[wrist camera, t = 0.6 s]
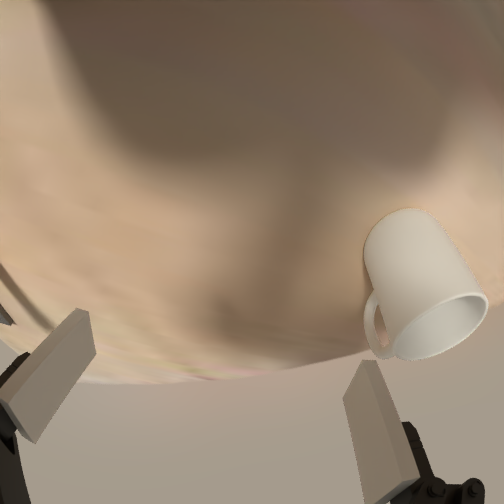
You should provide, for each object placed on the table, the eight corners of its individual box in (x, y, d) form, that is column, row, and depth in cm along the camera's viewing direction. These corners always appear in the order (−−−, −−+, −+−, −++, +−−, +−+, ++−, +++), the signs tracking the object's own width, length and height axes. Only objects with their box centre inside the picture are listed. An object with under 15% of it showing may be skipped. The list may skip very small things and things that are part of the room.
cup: (452, 224, 23) (503, 304, 15) (384, 302, 30) (406, 381, 22) (395, 190, 21) (453, 281, 13) (324, 286, 28) (340, 378, 20)
